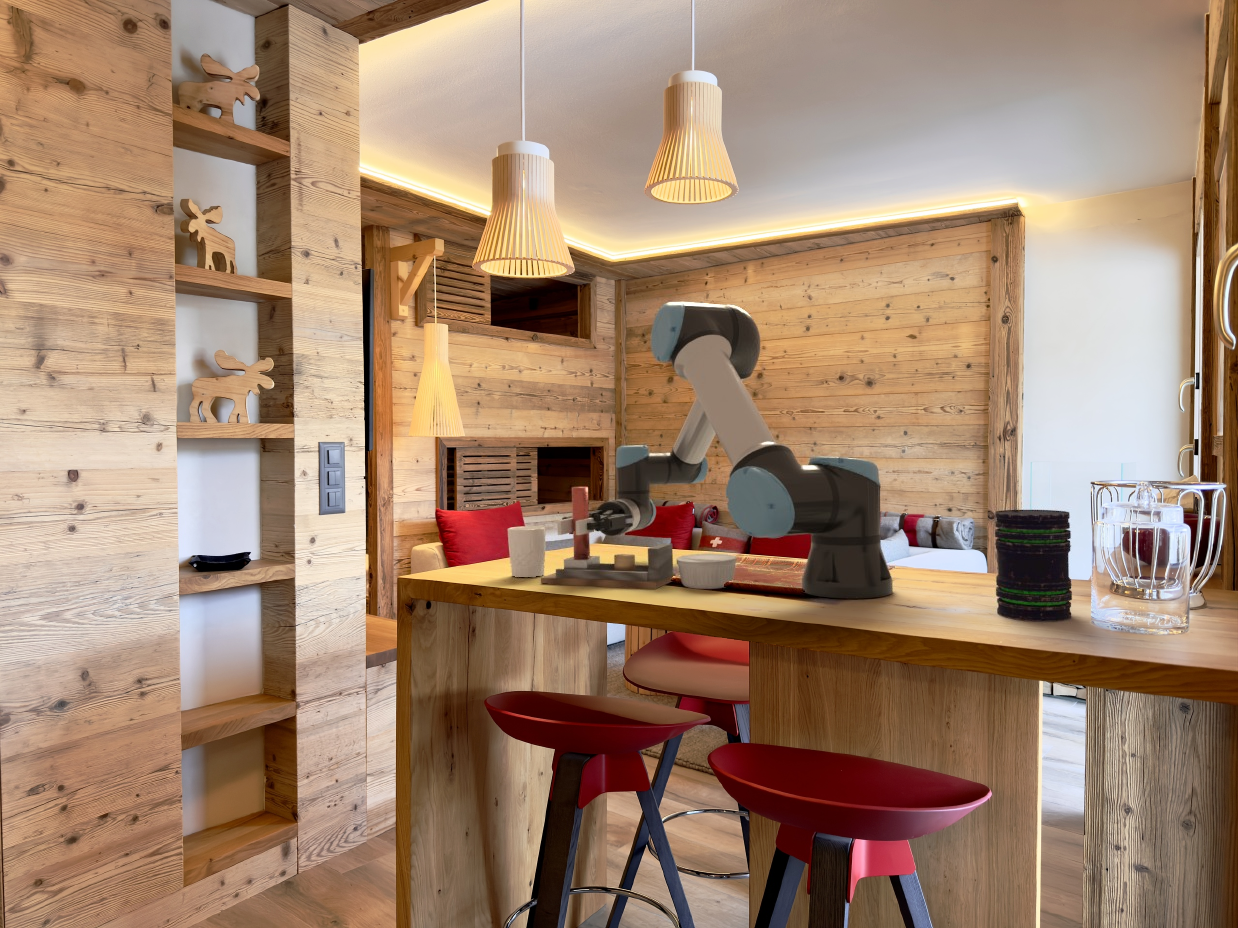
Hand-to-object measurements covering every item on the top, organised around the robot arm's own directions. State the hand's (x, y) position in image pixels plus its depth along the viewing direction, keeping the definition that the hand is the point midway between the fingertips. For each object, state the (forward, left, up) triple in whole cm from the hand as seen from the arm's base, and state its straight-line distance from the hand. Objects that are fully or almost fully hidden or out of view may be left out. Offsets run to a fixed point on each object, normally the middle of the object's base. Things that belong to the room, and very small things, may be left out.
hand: (568, 527), depth 154 cm
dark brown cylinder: (-43, -67, -11) cm, 80 cm away
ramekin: (-6, -26, -11) cm, 29 cm away
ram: (+5, -3, -10) cm, 11 cm away
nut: (+1, -11, -10) cm, 14 cm away
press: (+2, -8, -11) cm, 13 cm away
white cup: (+14, +8, -11) cm, 20 cm away
